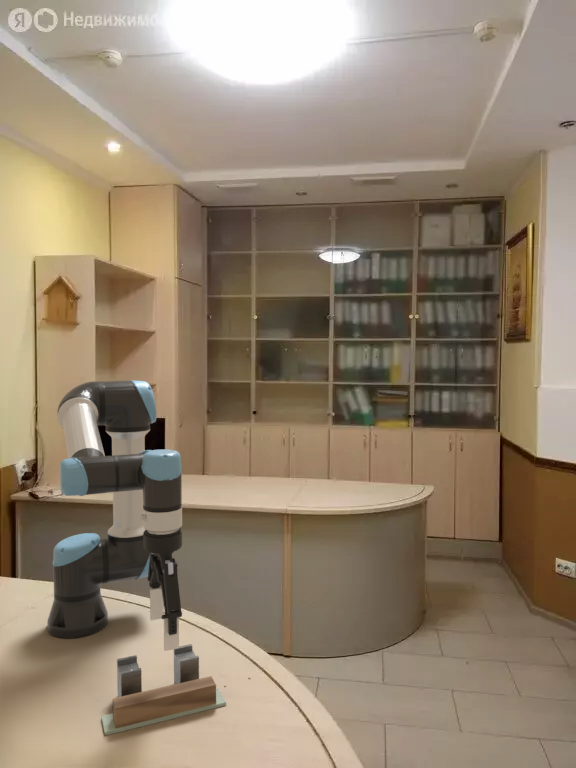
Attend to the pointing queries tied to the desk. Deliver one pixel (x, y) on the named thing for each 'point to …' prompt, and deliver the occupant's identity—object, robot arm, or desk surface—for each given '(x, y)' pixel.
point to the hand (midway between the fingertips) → (164, 633)
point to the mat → (110, 726)
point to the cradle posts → (131, 673)
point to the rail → (163, 701)
